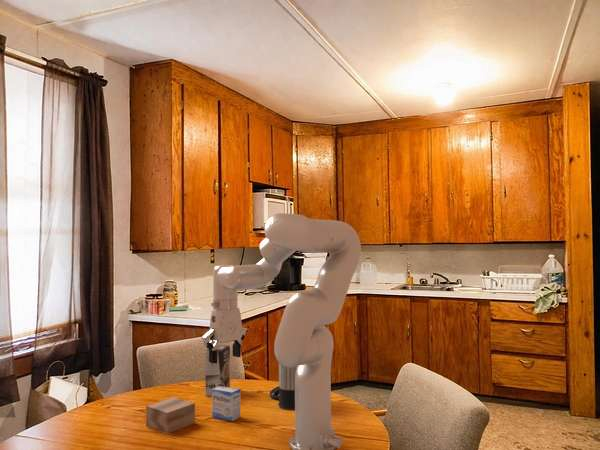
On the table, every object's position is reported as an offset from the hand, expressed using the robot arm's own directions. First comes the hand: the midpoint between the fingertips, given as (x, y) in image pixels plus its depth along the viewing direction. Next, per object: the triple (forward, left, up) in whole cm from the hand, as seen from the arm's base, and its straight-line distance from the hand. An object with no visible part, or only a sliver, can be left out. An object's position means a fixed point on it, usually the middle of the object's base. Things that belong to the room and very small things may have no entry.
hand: (225, 359), depth 147 cm
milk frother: (-6, -22, -18) cm, 29 cm away
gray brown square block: (+9, +14, -18) cm, 24 cm away
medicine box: (0, 0, -18) cm, 18 cm away
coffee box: (+21, -15, -18) cm, 31 cm away
